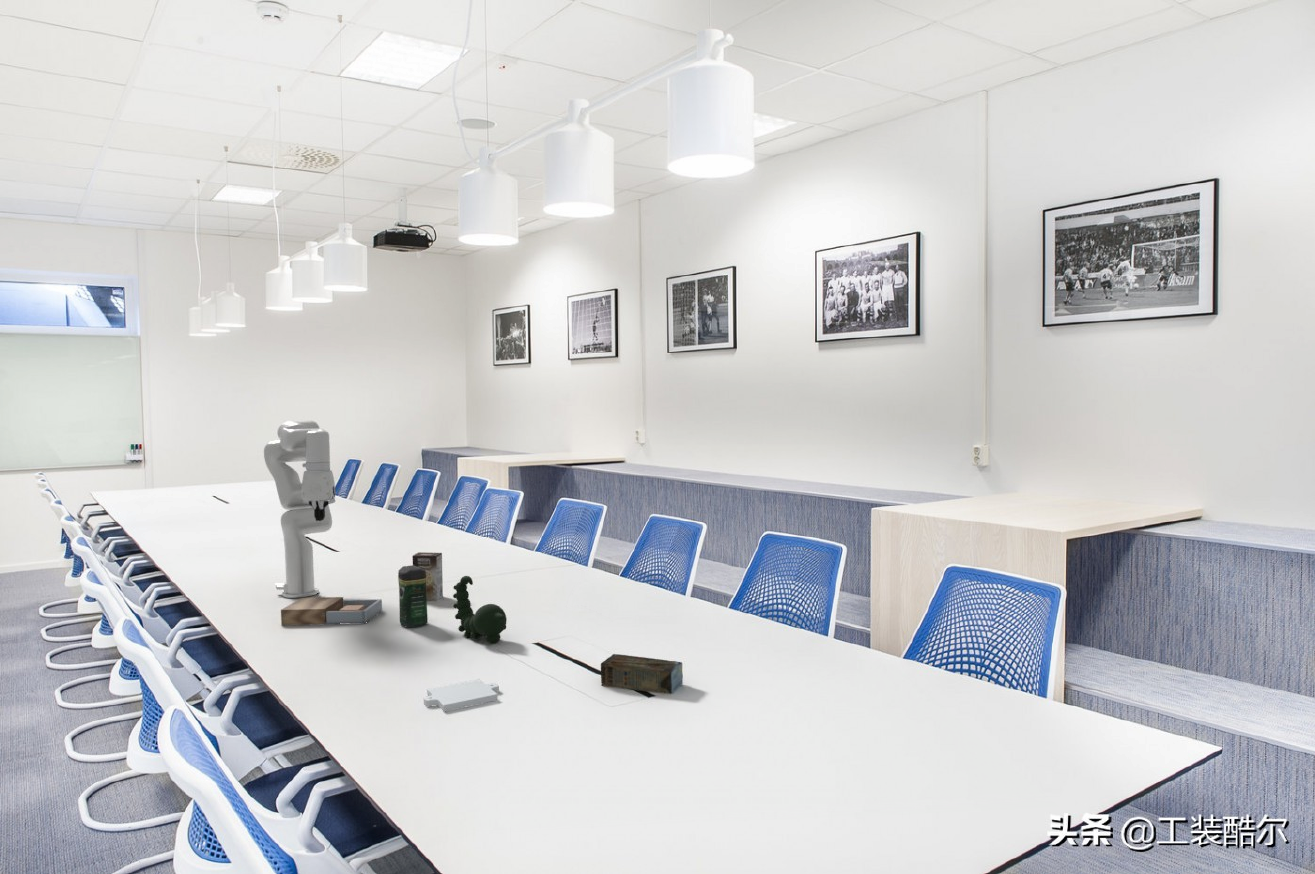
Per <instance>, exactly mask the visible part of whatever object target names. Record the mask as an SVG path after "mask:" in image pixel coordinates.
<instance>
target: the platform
mask: <svg viewBox="0 0 1315 874" xmlns="http://www.w3.org/2000/svg"><path fill="white" fill-rule="evenodd" d="M343 607H344V596H331V597H325V596H324V597H323V596H322V597H300V598H299V599H297V600H295V601H294V602H292V603H290V604H289V605H286V606H285V607H283V608H281V609H280V622H281V626H303V625H304V626H309V625H310V624H324V625H326V624H325V623H326V622H327V618H326V612H327V611H339V610H340V609H342V608H343ZM310 626H311V625H310Z"/></svg>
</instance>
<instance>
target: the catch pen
mask: <svg viewBox="0 0 1315 874" xmlns="http://www.w3.org/2000/svg"><path fill="white" fill-rule="evenodd" d="M343 604H344V607H345V606H346V605H364V608H365V610H363V611H327V612H326V618H327V622H326V623H325V624H324V625H341V624H340V623H366V622H367V623H369V622H370V621H371V620H373V619H374V618H375V617H376V616H378V615H379V614H380V613H382V612H383V601H382V599H381V598H380V599H378V598H377V599H375V598H373V599H343ZM381 611H382V612H381ZM377 614H378V615H377ZM372 618H373V619H372ZM370 619H371V620H370ZM369 620H370V621H369ZM368 621H369V622H368ZM367 623H366V624H367Z"/></svg>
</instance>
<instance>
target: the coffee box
mask: <svg viewBox="0 0 1315 874" xmlns="http://www.w3.org/2000/svg"><path fill="white" fill-rule="evenodd" d="M412 565H415V566H416V567H419V568H422V569H424V570H425V571H426V594H427V601H439V600H440V599H441V598H443V596H444V586H443V583H444V582H443V581H444V579H443V553H442V552H426V551H425V552H417V553H415V554H413V555H412Z"/></svg>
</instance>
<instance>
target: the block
mask: <svg viewBox="0 0 1315 874" xmlns="http://www.w3.org/2000/svg"><path fill="white" fill-rule="evenodd" d="M363 610H365V608H364V605H346V606H345V607H343V608H342V609H340V610H339V611H363Z"/></svg>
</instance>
